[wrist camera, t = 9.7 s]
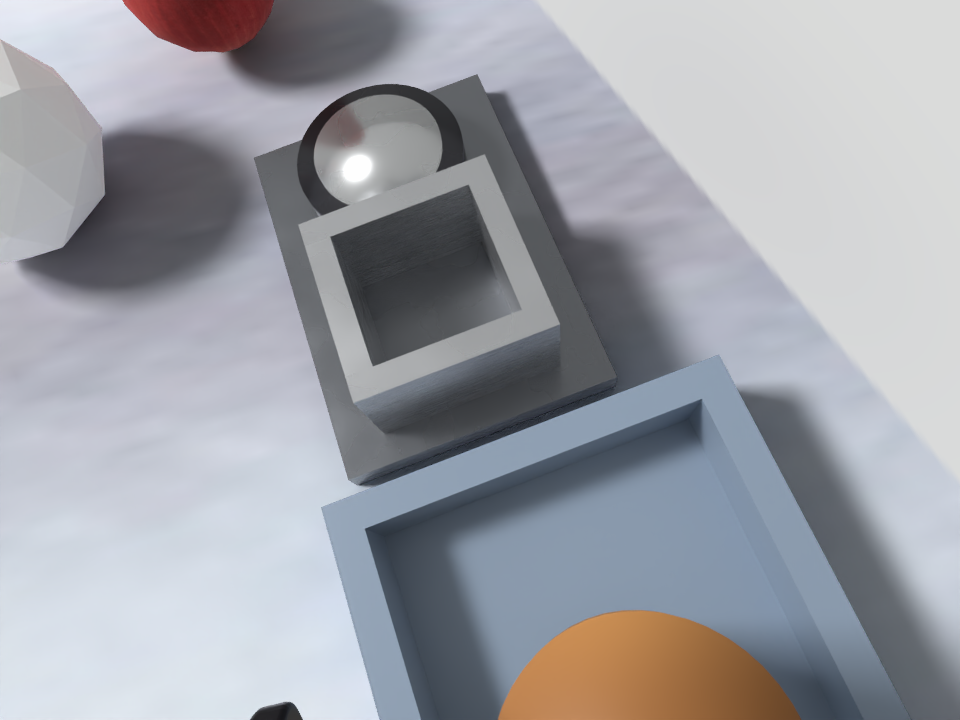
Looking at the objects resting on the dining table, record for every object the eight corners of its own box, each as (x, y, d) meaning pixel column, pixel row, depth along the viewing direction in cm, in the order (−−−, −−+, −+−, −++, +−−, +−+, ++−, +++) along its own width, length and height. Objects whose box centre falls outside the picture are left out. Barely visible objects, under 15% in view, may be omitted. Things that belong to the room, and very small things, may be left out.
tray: (948, 875, 18) (1020, 925, 15) (505, 1052, 18) (494, 1136, 15) (699, 386, 23) (718, 354, 20) (351, 520, 23) (321, 507, 20)
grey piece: (615, 386, 23) (626, 336, 19) (357, 485, 23) (310, 456, 19) (480, 92, 28) (465, -1, 23) (264, 173, 27) (210, 94, 23)
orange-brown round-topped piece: (726, 737, 19) (894, 916, 8) (578, 794, 19) (560, 1039, 8) (658, 581, 20) (729, 565, 10) (520, 634, 20) (445, 674, 10)
